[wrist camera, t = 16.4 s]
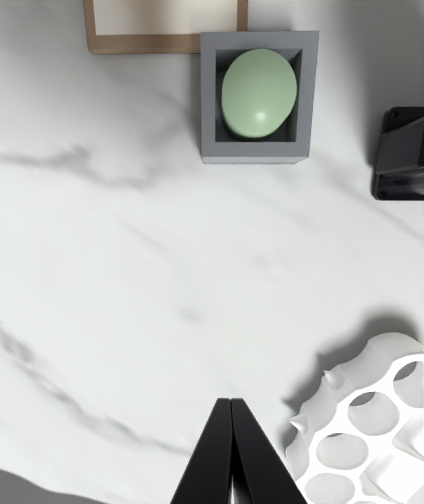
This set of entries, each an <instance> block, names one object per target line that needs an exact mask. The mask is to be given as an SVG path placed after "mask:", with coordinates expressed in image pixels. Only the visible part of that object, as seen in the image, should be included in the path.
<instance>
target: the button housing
mask: <svg viewBox="0 0 424 504" xmlns="http://www.w3.org/2000/svg"><path fill="white" fill-rule="evenodd" d="M318 40H319V31H248V32H201V157H202V160H203V163H204V164H295V163H297V162H299V161H301V160H303V159H305V158H308V157H309V148H310V136H311V124H312V112H313V100H314V88H315V76H316V64H317V52H318ZM255 49H268V50H272V51H274V52H276V53H278V54H280V55H281V56H282V57H284V58H285V59H286V60H287V62H288V63H289V64H290V66H291V68H292V70H293V72H294V75H295V78H296V85H297V93H296V99H295V103H294V105H293V108H292V110H291V112H290V113H289V115H288V116H287V118H286V119H285V120H284V121H283V122H282V124H281V125H280V126H279V127H278V128H277V130H276V131H275V132H274V133H273V134H272V135H271V136H270V137H269V138H267V139H266V140H264V141H262V142H240V141H238V140H236V139H235V138H233V137H232V136H231V135H230V134H229V133H228V131H227V130H226V128H225V126H224V124H223V121H222V116H221V103H222V86H223V81H224V78H225V75H226V73H227V71H228V69H229V67H230V66H231V64H232V63H233V62H234V61H235V60H236V59H237V58H238V57H239V56H241V55H242V54H244V53H246V52H248V51H251V50H255Z"/></svg>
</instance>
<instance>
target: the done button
mask: <svg viewBox="0 0 424 504" xmlns="http://www.w3.org/2000/svg"><path fill="white" fill-rule="evenodd" d="M296 93H297V85H296V78H295V75H294V72H293V70H292V68H291V66H290V64H289V63H288V62H287V60H286V59H285V58H284V57H282V56H281V55H280V54H278V53H276V52H274V51H272V50H268V49H255V50H251V51H248V52H246V53H244V54H242V55H241V56H239V57H238V58H237V59H236V60H235V61H234V62H233V63H232V64H231V66H230V67H229V69H228V71H227V73H226V75H225V78H224V81H223V86H222V103H221V116H222V121H223V124H224V126H225V128H226V130H227V131H228V133H229V134H230V135H231V136H232V137H233V138H235V139H236V140H238V141H240V142H262V141H264V140H266V139H267V138H269V137H270V136H271V135H272V134H273V133H274V132H275V131H276V130H277V128H278V127H279V126H280V125H281V124H282V122H283V121H284V120H285V119H286V118H287V116H288V115H289V113H290V112H291V110H292V108H293V105H294V103H295V99H296Z"/></svg>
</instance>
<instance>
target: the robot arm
mask: <svg viewBox="0 0 424 504" xmlns="http://www.w3.org/2000/svg"><path fill="white" fill-rule="evenodd" d="M392 113H394V114H395V117H394V118H392ZM375 172H376V179H375V186H374V193H373V196H374V198H375V199H376V200H389V201H424V107H394V108H392V109H390V110H388V111H387V112H386V113H385V116H384V122H383V129H382V136H381V137H380V141H379V148H378V155H377V163H376V170H375ZM381 191H382V192H383V196H382V197H381V196H380V192H381ZM232 486H233V495H234V503H235V504H308V503H307V501H306V500H305V498H304V496H303V495H302V493H301V491H300V490H299V488H298V487H297V485H296V483H295V482H294V480H293V478H292V477H291V475H290V474H289V472H288V470H287V469H286V467H285V466H284V464H283V462H282V461H281V459H280V457H279V456H278V454H277V453H276V451H275V449H274V448H273V446H272V445H271V443H270V441H269V440H268V438H267V436H266V435H265V433H264V432H263V430H262V428H261V427H260V425H259V424H258V422H257V420H256V419H255V417H254V415H253V414H252V412H251V411H250V409H249V407H248V406H247V404H246V403H245V401H244V400H243V399H242V398H232V399H231V400H230V399H229V398H218V399H217V401H216V403H215V405H214V407H213V409H212V412H211V414H210V416H209V418H208V421H207V423H206V425H205V427H204V429H203V432H202V434H201V436H200V438H199V440H198V443H197V445H196V447H195V449H194V452H193V454H192V456H191V458H190V460H189V463H188V465H187V467H186V469H185V471H184V474H183V476H182V478H181V480H180V483H179V485H178V487H177V489H176V491H175V494H174V496H173V498H172V500H171V503H170V504H231V493H232Z"/></svg>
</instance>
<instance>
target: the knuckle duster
mask: <svg viewBox="0 0 424 504" xmlns="http://www.w3.org/2000/svg"><path fill="white" fill-rule="evenodd" d="M414 361H417V365H416V368H415V369H414V371H413V372H412V373H411V374H410V375H409V376H407V377H406V378H404V379H401V380H395V381H393V380H394V377H395V375H396V373H397V372H398V371H399V370H400V369H401V368H402V367H403V366H405V365H406V364H408V363H411V362H414ZM324 373H325V375H324V376H323V377H322V378H321V384H320V387H319V389H318V391H317V392H316V393H315V395H314V396H313V397H311V398H310V399H309V400H307V401H306V402H304V403H302V406H301V408H300V411H299V414H298V415H297V416H294V417H292V418H290V419H287V420H288V421H289V422H291V423H292V424H293V425H294V426H295V427H296V428H297V429H298V432H297V436H296V438H295V439H294V441H293V442H292V443H291V444H290V445H289V446H288V447H286V451H285V454H286V459H287V462H288V466H289V470H290V474H291V477H292V478H293V480H294V482H295V483H296V485H297V487H298V488H299V490H300V491H301V493H302V495H303V496H304V498H305V500H306V501H307V503H308V504H352V503H354V502H356V501H365V500H372V501H374V502H376V503H378V504H406V503H407V502H408V499H409V498H410V497H411V496H412V495H413V494H414V493H415V492H416V491H417V490H418V489H419V488H420V487H421V486H422V485H423V484H424V346H423V345H421V344H420V343H419V342H417V341H416V340H414V339H413V338H411V337H410V336H408V335H405V334H402V333H397V332H389V333H383V334H379V335H376V336H374V337H372V338H370V339H369V340H368V342H367V345H366V346H365V348H364V350H363V351H362V352H361V353H360V354H359V355H358V356H357V357H355V358H354V359H352V360H350V361H348V362H345V363H342V364H338V365H336V366H335V367H334V368H333V369H331V370H330V371H325V370H324ZM371 391H376V392H375V395H374V396H373V398H372V399H371V400H370V401H368V402H367V403H365V404H363V405H359V406H350V405H349V404H350V403H351V402H352V400H353V399H354V398H356V397H357V396H359V395H360V394H363V393H366V392H371ZM333 433H342V434H340V435H338V436H335V437H326V436H327V435H330V434H333Z"/></svg>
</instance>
